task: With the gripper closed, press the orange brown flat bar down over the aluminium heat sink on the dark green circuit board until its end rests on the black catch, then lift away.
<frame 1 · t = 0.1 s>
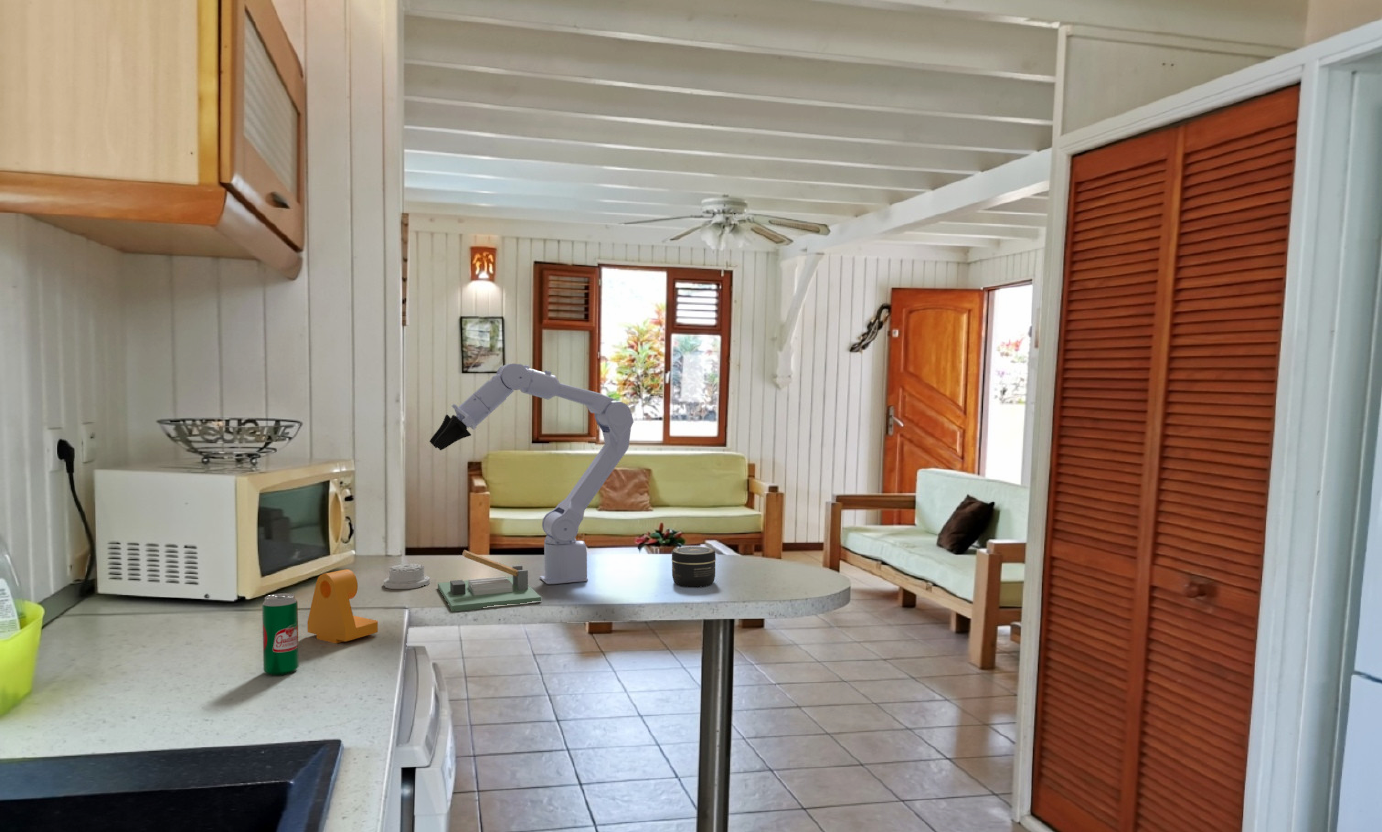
hand: (434, 445, 193), 32 cm above the countertop, tool tilted 50°, fingers open, 7 cm apart
soda can: (281, 672, 141), on the countertop
orange brown flat bar: (494, 564, 191), point 6 cm above the countertop, hinge at 25.0°
board: (487, 595, 191), on the countertop
bracket: (344, 637, 160), on the countertop
mechanical component: (407, 586, 201), on the countertop
jar: (693, 584, 202), on the countertop
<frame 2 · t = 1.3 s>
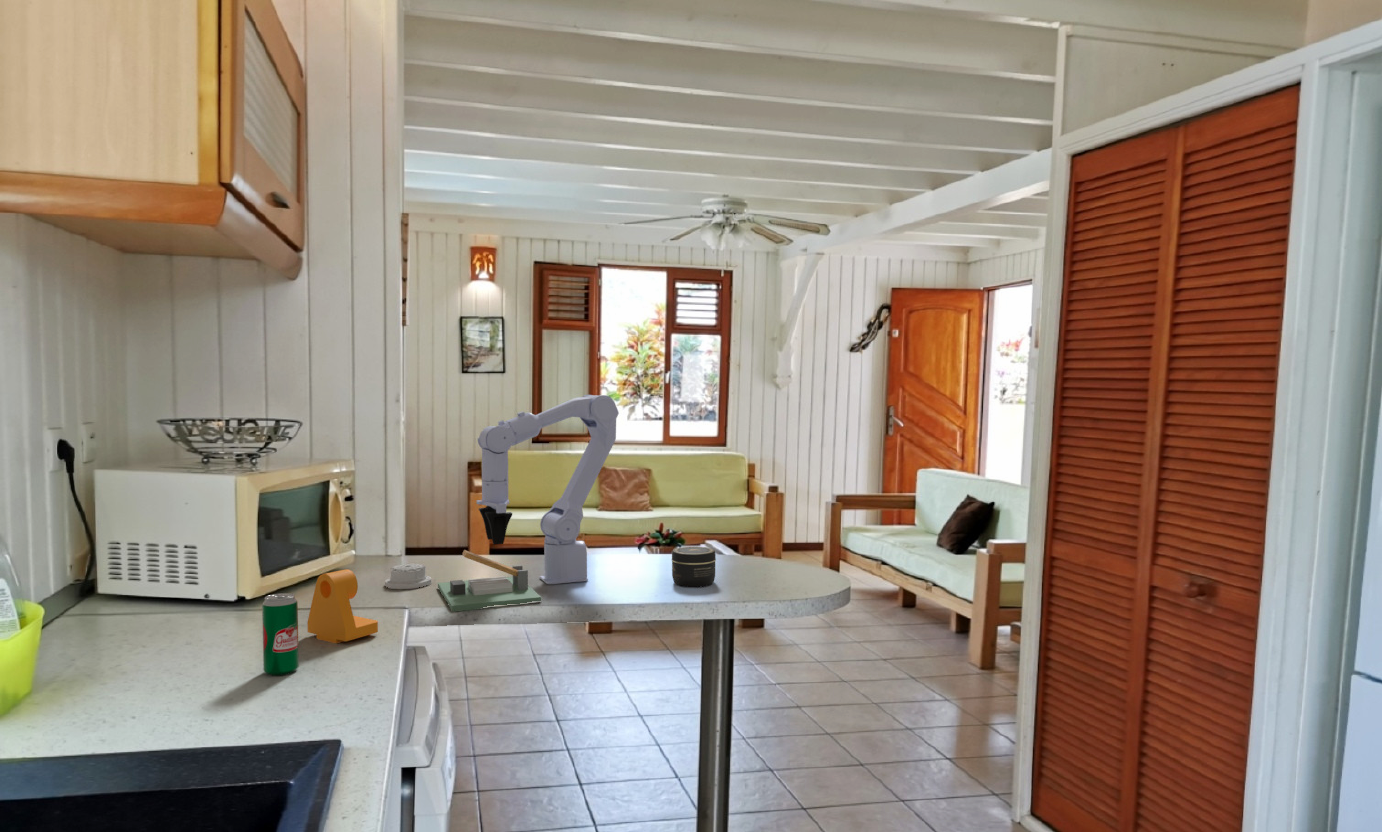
hand: (495, 541, 197), 10 cm above the countertop, tool pointing down, fingers open, 6 cm apart
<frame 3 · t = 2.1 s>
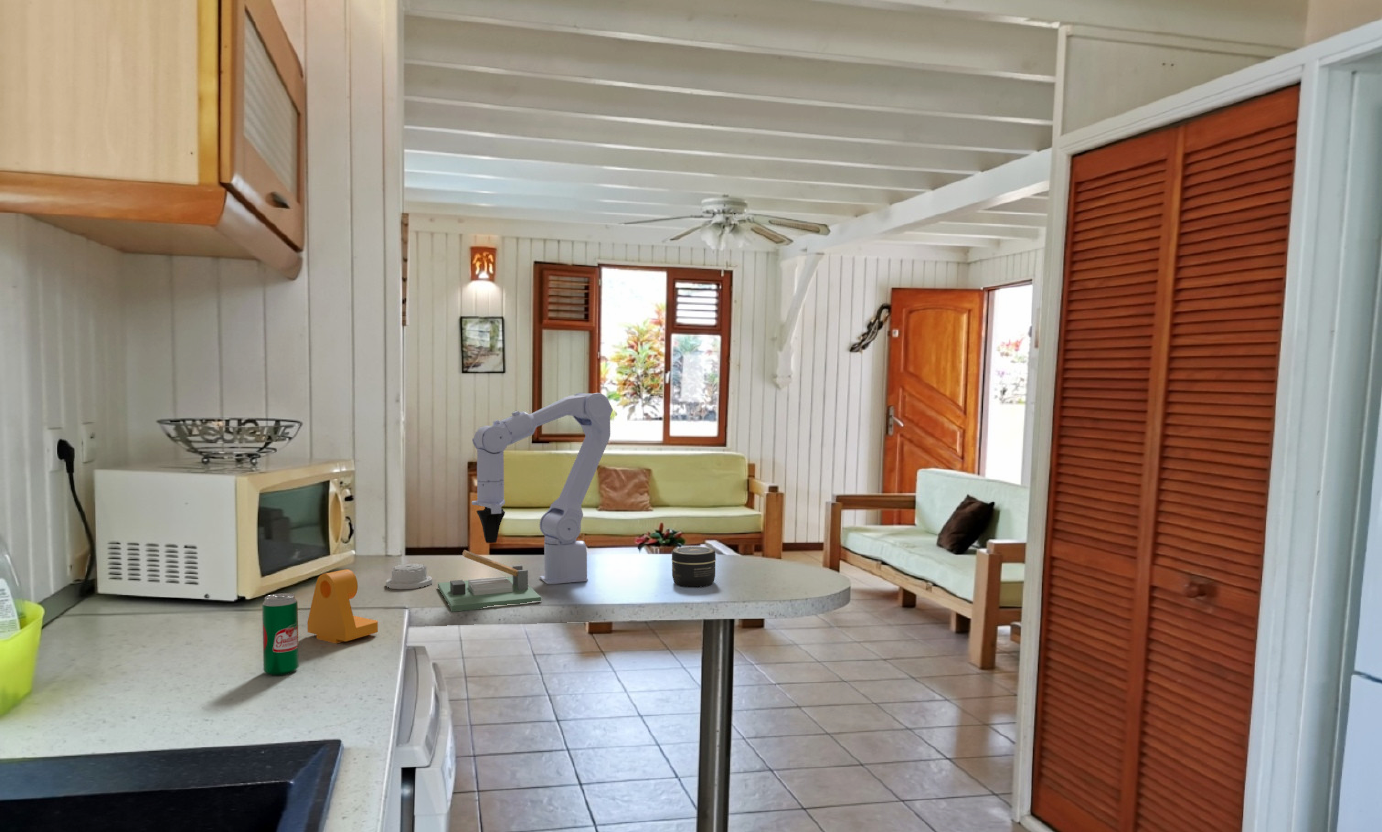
hand: (490, 542, 195), 10 cm above the countertop, tool pointing down, fingers closed
nothing on the countertop moved.
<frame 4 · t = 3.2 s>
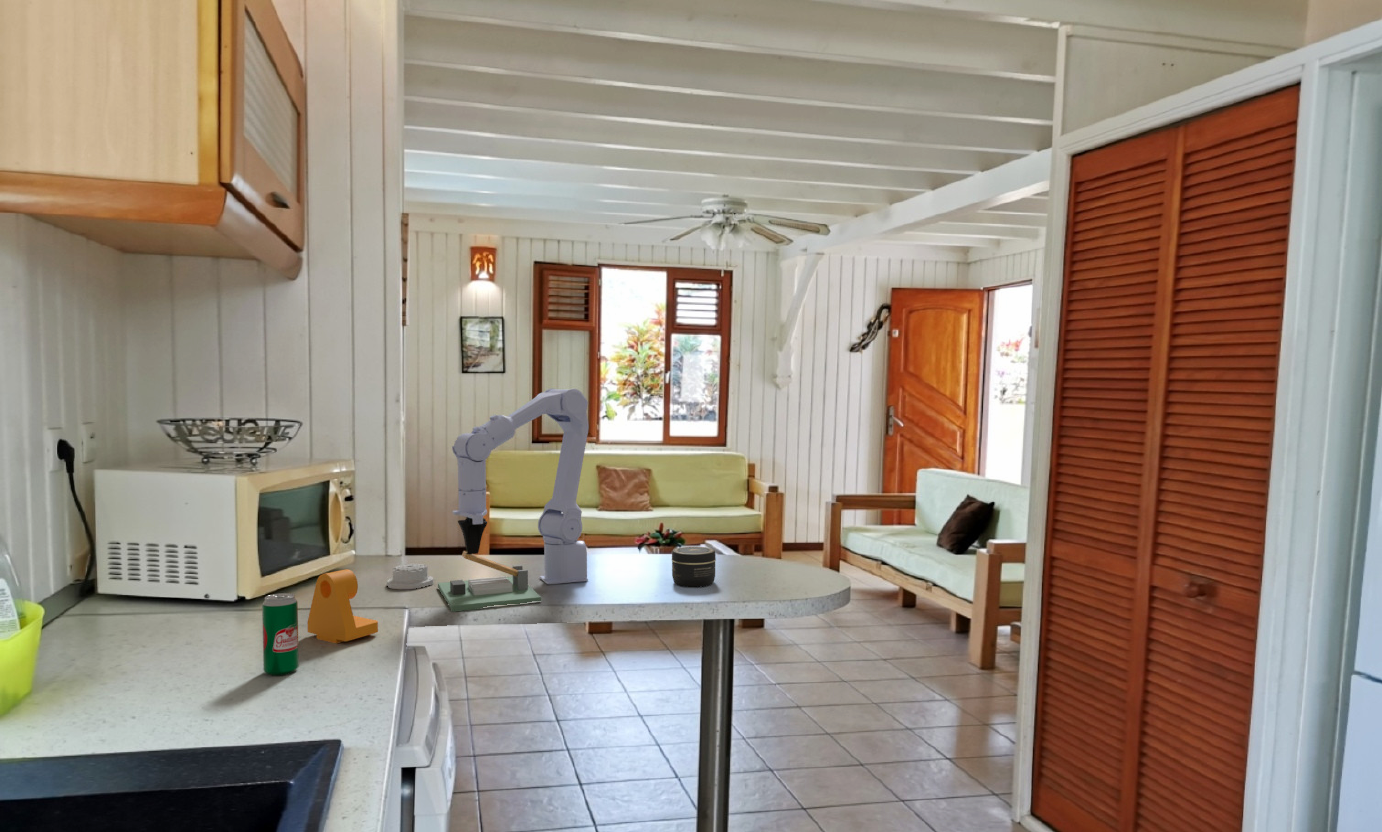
hand: (472, 553, 189), 9 cm above the countertop, tool pointing down, fingers closed, pressing on orange brown flat bar
orange brown flat bar: (493, 565, 191), point 6 cm above the countertop, hinge at 24.0°, touching gripper
everything else where it was.
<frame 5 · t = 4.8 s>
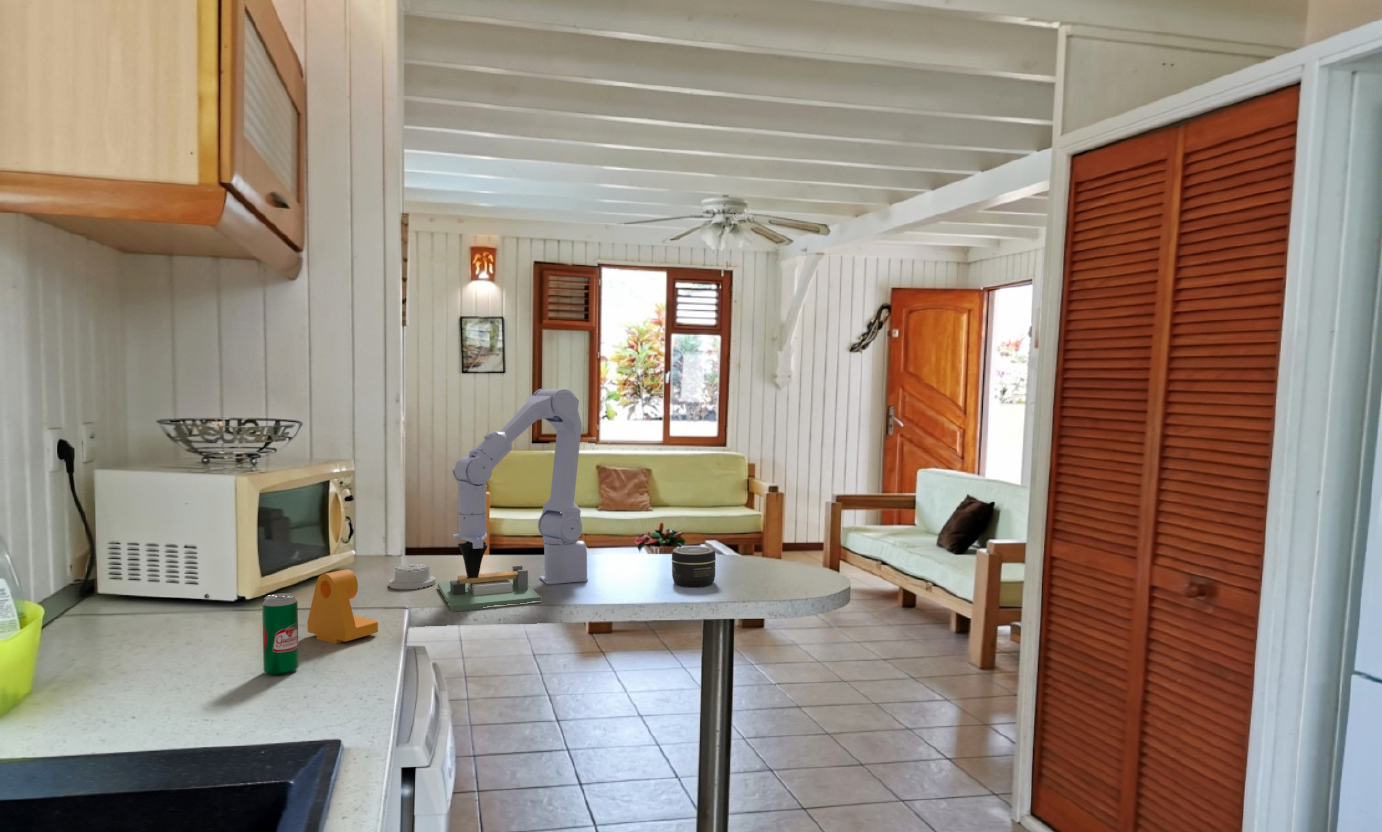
hand: (472, 576, 189), 4 cm above the countertop, tool pointing down, fingers closed, pressing on orange brown flat bar
orange brown flat bar: (491, 577, 191), point 4 cm above the countertop, hinge at -0.2°, touching board, gripper
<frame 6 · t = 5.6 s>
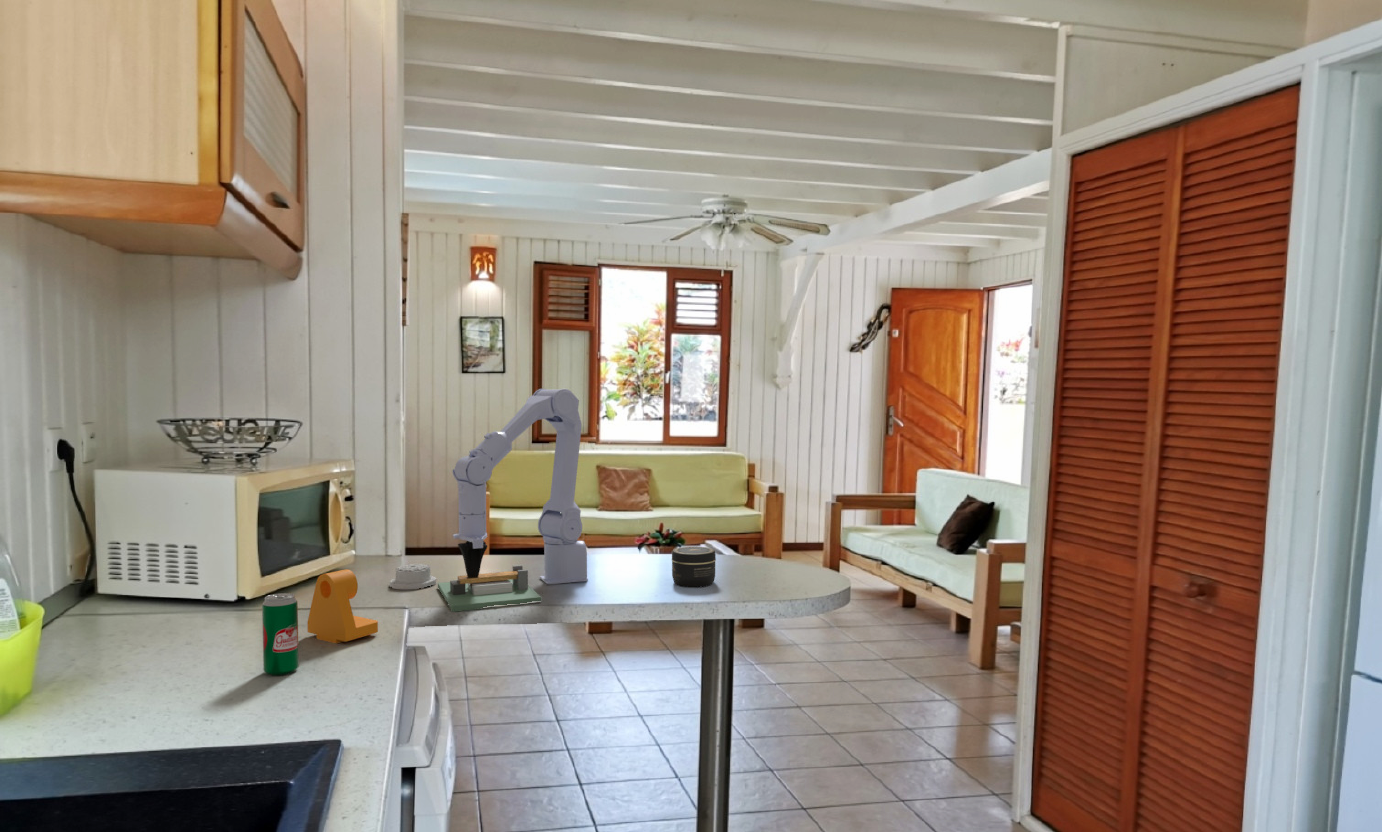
hand: (472, 576, 189), 4 cm above the countertop, tool pointing down, fingers closed, pressing on orange brown flat bar
orange brown flat bar: (491, 577, 191), point 4 cm above the countertop, hinge at -0.3°, touching board, gripper
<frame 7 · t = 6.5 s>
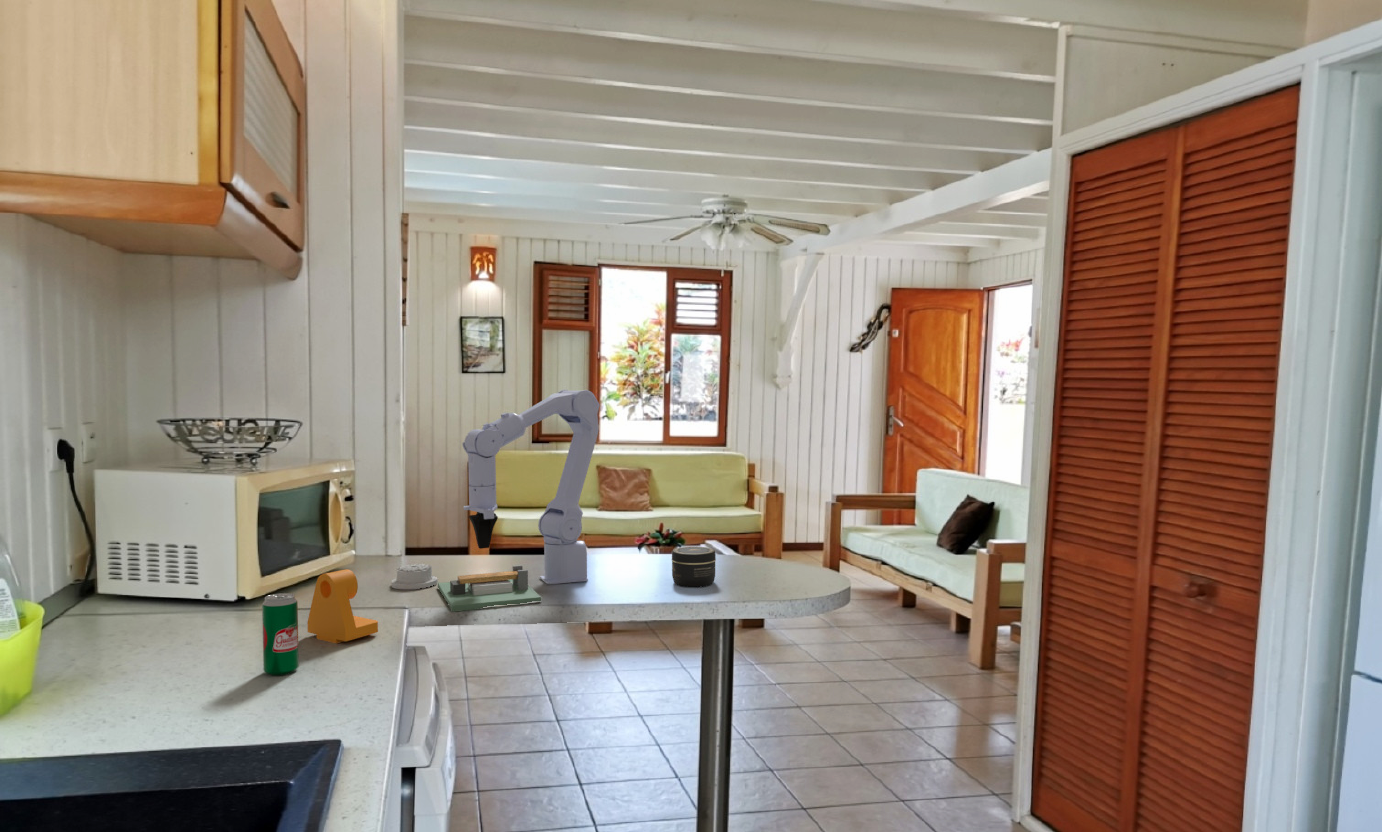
hand: (483, 547, 192), 10 cm above the countertop, tool pointing down, fingers closed
orange brown flat bar: (491, 577, 191), point 4 cm above the countertop, hinge at -0.3°, touching board
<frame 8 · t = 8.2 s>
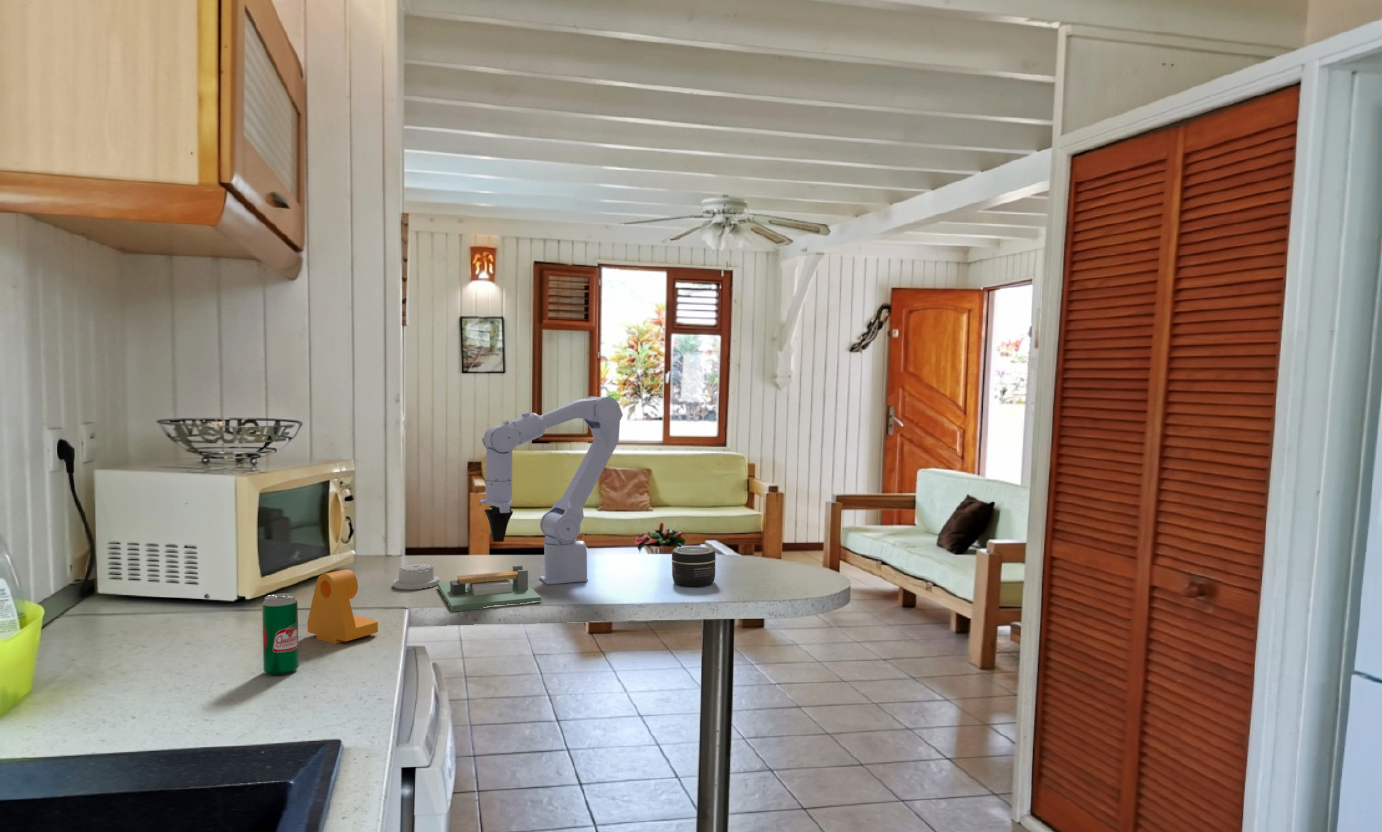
hand: (498, 541, 197), 10 cm above the countertop, tool pointing down, fingers closed
at the end: orange brown flat bar at +0° (first picture: +25°) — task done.
